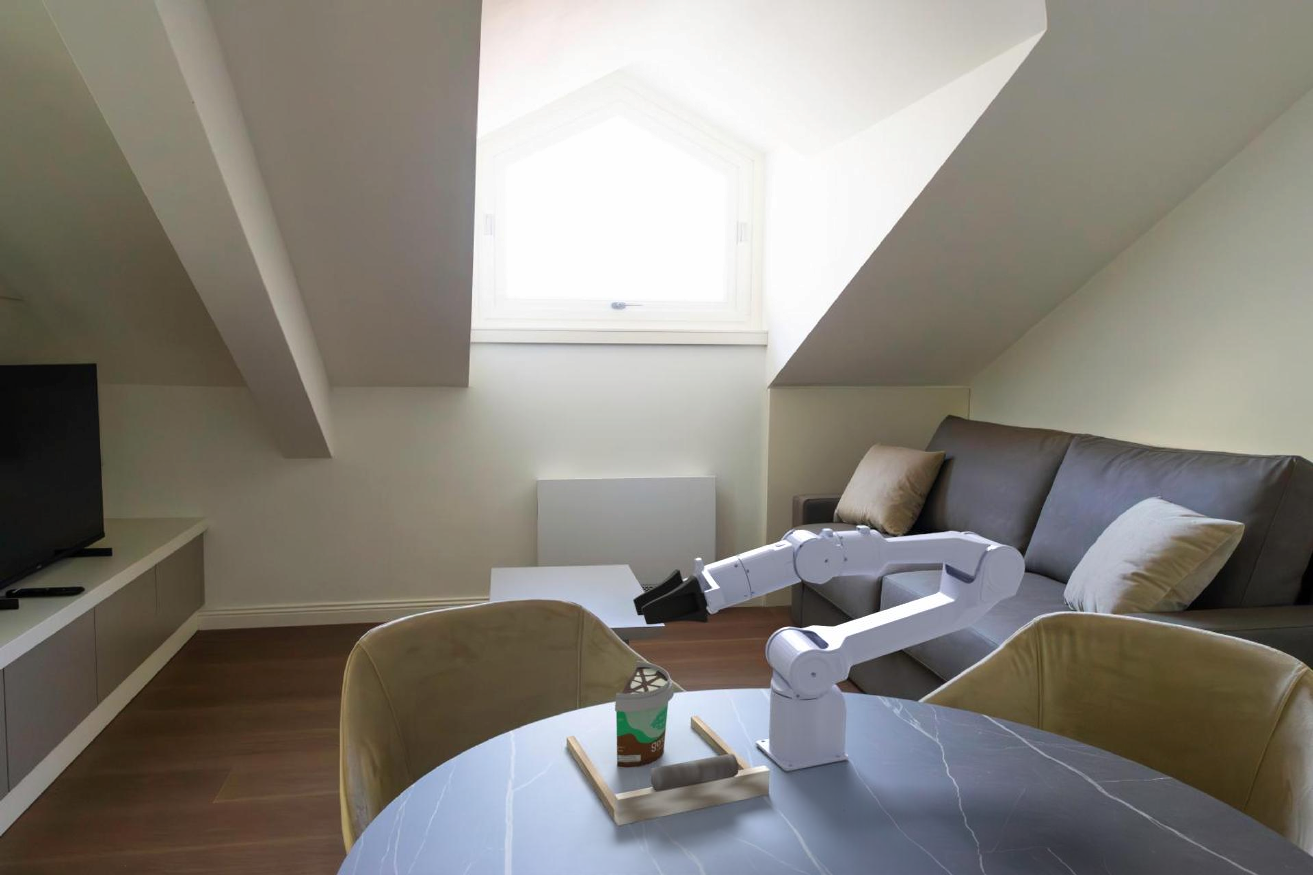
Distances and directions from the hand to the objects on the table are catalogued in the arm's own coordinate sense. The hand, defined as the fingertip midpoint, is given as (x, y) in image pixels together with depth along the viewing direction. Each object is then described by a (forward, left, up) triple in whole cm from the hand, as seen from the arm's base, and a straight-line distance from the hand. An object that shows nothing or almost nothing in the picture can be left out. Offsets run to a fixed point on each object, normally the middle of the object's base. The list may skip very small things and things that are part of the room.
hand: (639, 611), depth 104 cm
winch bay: (-3, +1, -20) cm, 20 cm away
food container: (-3, -3, -20) cm, 21 cm away
